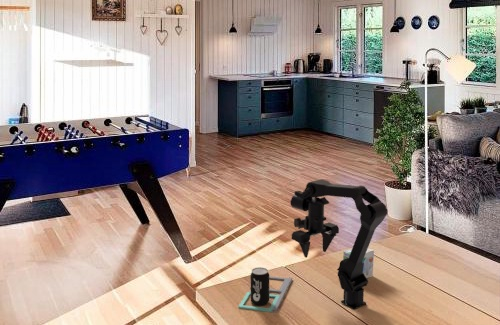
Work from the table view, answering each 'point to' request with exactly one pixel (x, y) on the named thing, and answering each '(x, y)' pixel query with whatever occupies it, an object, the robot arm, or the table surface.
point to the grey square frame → (281, 285)
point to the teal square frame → (258, 307)
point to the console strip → (282, 295)
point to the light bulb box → (364, 261)
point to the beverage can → (259, 286)
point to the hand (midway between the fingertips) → (315, 254)
